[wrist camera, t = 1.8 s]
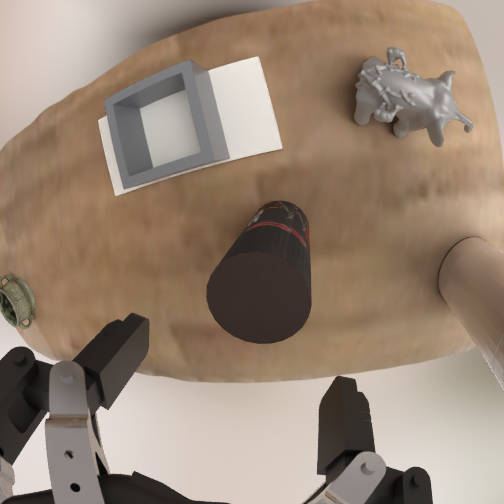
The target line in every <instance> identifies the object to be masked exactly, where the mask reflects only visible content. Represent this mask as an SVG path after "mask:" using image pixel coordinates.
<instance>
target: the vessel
mask: <svg viewBox="0 0 504 504" xmlns="http://www.w3.org/2000/svg"><path fill="white" fill-rule="evenodd" d="M4 278H6V279H7V280H8V282H7V283H6V284H5V285H4V286H3V285H2V282H1V281H2V279H4ZM13 279H14V276H13V275H12V274H11V275H10V276H7V275H4V276H1V277H0V311H1V313H2V314H3V316H4V318H5V319H6V320H7V321H8V322H9V324H11V325H12V326H13V327H17V326H18V325H19V326H20V328H22V329H27V328H29V327H30V326H31V323H32V320H34V318H35V317H34V315H33V314H31V315H30V313H31V311H33V310H34V309H35V300H34V296H33V294H32V292H31V290H30V288H29V287H28V285H27V284H26V283H25V282H24V281H23V280H22V279H17V280H16V282H14V281H12V280H13ZM26 319H28V320H29V324H28V325H27V326H25V325H24V324H23V323H22V321H24V320H26Z"/></svg>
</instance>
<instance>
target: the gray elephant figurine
mask: <svg viewBox="0 0 504 504" xmlns="http://www.w3.org/2000/svg"><path fill="white" fill-rule="evenodd" d="M387 58H388V62H389V63H388V64H387V63H384V62H383V61H381V60H380V59H379V58H378V57H376V56H370V57H369V58H368V60H367V61H365V62H364V63H363V66H362V71H361V72H360V73H359V74H358V78H359V79H360V81H359V82H357V83H356V84H355V86H356V88H357V90H358V91H357V93H356V100H357V105H356V112H355V113H354V119H355V121H356V122H357V123H358V124H360V125H365V124H367V123H368V122H369V120H370V115H371V114H372V113H374V118H375V119H376V120H377V121H379V122H391V121H392V120H393V118H394V116H395V115H396V116H397V117H398V118H399V120H398V121H397V122H396V123H395V124H394V126H393V130H394V133H395V135H396V136H397V137H398V138H404V137H405V136H406V135H407V134H408V133H409V132H411V131H416V130H419V129H424V128H427V131H428V134H429V137H430V139H431V142H432V143H433V144H434V145H435V146H437V147H441V146H442V145H443V141H444V137H443V128H444V127H445V126H446V125H447V124H448V123H449V122H451V121H452V120H459V121H461V122H462V123H464V124H465V126H464V130H465V131H466V132H467V133H469V132H471V131H472V128H473V122H472V121H471V120H470V119H469V118H468V117H467V116H466V115H464V114H462V113H461V112H460V111H459V110H458V109H457V107H456V104H455V100H454V98H453V95H452V75H453V74H455V72H454V71H446V72H444V73H443V74H442V75H441V76H440V77H438V78H436V79H434V78H428V79H423V78H421V77H419V75H418V74H413V73H411V72H410V71H409V70H408V69H407V66H406V56H405V52H404V51H403V50H399V49H397V48H394V47H390V48H388V49H387ZM399 58H400V59H401V60H402V63H403V67H402V69H399V65H397V64H396V65H395V66H394V65H393V62H394V61H395V60H396V59H399ZM389 111H390V112H389Z"/></svg>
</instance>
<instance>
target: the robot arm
mask: <svg viewBox="0 0 504 504" xmlns="http://www.w3.org/2000/svg"><path fill="white" fill-rule="evenodd" d="M439 290H440V293H441V295H442V297H443V299H444V300H445V301H446V303H447V304H448V305H449V307H450V308H451V309H452V311H453V312H454V314H455V315H456V316H457V318H458V319H459V321H460V322H461V324H462V325H463V326H464V328H465V329H466V331H467V332H468V334H469V335H470V337H471V338H472V340H473V341H474V343H475V344H476V346H477V347H478V348H479V350H480V352H481V353H482V355H483V357H484V358H485V360H486V361H487V363H488V365H489V366H490V368H491V370H492V371H493V373H494V375H495V376H496V378H497V380H498V382H499V383H500V385H501V387H502V389H503V390H504V253H503V252H502V251H500V250H499V249H497V248H496V247H494V246H493V245H491V244H490V243H488V242H487V241H485V240H483V239H481V238H478V237H470V238H467V239H464V240H462V241H461V242H459V243H458V244H456V245H455V246H454V247H453V248H452V249H451V250H450V252H449V253H448V254H447V256H446V258H445V260H444V262H443V264H442V266H441V269H440V274H439ZM148 348H149V319H147V318H145V317H142V316H140V315H137V314H135V313H131V314H129V315H128V317H127V318H126V319H125V320H124V321H121V320H119V319H118V320H115V321H113V322H111V323H109V324H107V325H106V326H105V327H104V328H103V329H102V330H101V332H100V333H98V334H97V335H96V336H95V339H93V340H92V341H91V342H90V343H89V344H88V345H87V346H86V347H85V348H84V349H83V350H82V351H81V352H80V353H79V354H78V355H77V356H76V357H75V358H74V359H73V360H72V361H60V362H58V363H56V364H55V365H52V364H48V363H45V362H42V361H39V360H36V359H35V356H34V353H33V352H32V351H31V350H30V349H29V348H26V347H15V348H13V349H11V350H10V351H9V352H8V353H7V354H6V355H5V356H4V357H3V358H2V359H1V360H0V504H229V503H223V502H222V503H221V502H204V501H194V500H190V499H188V498H186V497H184V496H183V495H181V494H179V493H178V492H176V491H175V490H173V489H171V488H170V487H168V486H167V485H165V484H163V483H161V482H159V481H156V480H154V479H151V478H149V477H147V476H144V475H142V474H140V473H138V472H135V471H134V472H133V474H132V476H130V475H124V474H110V471H109V467H108V464H107V461H106V458H105V455H104V451H103V447H102V442H101V438H100V432H99V426H98V421H97V414H96V411H97V410H98V408H99V407H100V406H102V407H104V408H105V409H107V410H109V408H110V407H111V406H112V404H113V403H114V401H115V400H116V398H117V397H118V395H119V394H120V392H121V391H122V389H123V388H124V386H125V385H126V384H127V382H128V381H129V379H130V378H131V377H132V375H133V374H134V372H135V371H136V369H137V368H138V367H139V365H140V364H141V362H142V361H143V360H144V358H145V356H146V354H147V352H148ZM47 412H50V416H49V419H46V421H45V436H46V449H47V458H48V466H49V474H50V480H51V486H52V489H49V490H44V491H39V492H34V493H28V494H24V495H23V494H22V495H16V496H13V493H12V485H14V483H15V479H14V470H13V468H12V465H13V463H14V462H15V460H16V458H17V457H18V455H19V454H20V452H21V451H22V449H23V447H24V446H25V444H26V443H27V441H28V440H29V438H30V437H31V435H32V434H33V432H34V431H35V429H36V428H37V426H38V425H39V424H40V422H41V421H42V419H43V418H44V416H45V415H46V414H47ZM318 434H319V435H318V461H317V474H319V475H326V481H325V482H324V483H323V484H322V485H321V486H320V487H319V488H318V489H317V490H316V491H315V492H314V493H313V494H311V495H310V496H309V497H308V498H307V499H306V500H305V501H304V502H303V503H302V504H433V501H432V490H431V482H430V477H429V475H428V473H427V472H426V471H425V470H424V469H422V468H420V467H411V468H409V469H408V470H406V471H405V472H403V471H399V470H396V469H392V468H390V467H387V466H386V465H385V462H384V460H383V459H382V458H381V457H380V456H379V455H378V454H376V453H375V445H374V437H373V429H372V423H371V416H370V409H369V403H368V400H367V399H366V397H365V396H364V394H363V393H362V392H357V385H356V380H355V379H352V378H347V377H342V376H337V377H336V378H335V380H334V381H333V382H332V384H331V386H330V387H329V389H328V390H327V392H326V393H325V395H324V396H323V398H322V400H321V403H320V407H319V433H318Z"/></svg>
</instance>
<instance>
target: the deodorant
mask: <svg viewBox="0 0 504 504" xmlns="http://www.w3.org/2000/svg"><path fill="white" fill-rule="evenodd" d="M206 298H207V302H208V306H209V310H210V311H211V313H212V315H213V317H214V319H215V320H216V321H217V323H218V324H219V325H220V326H221V327H222V328H223V329H224V330H226V331H227V332H228V333H230V334H231V335H233V336H234V337H237V338H239V339H241V340H244V341H247V342H252V343H257V344H268V343H275V342H279V341H283V340H285V339H287V338H289V337H291V336H293V335H294V334H295V333H296V332H297V331H299V330H300V329H301V328H302V327H303V325H304V324H305V322H306V320H307V319H308V317H309V313H310V309H311V265H310V241H309V226H308V221H307V218H306V216H305V214H304V213H303V212H302V210H301V209H299V208H298V207H297V206H296V205H294V204H292V203H289V202H285V201H273V202H271V203H268V204H266V205H264V206H263V207H262V208H260V210H259V211H258V212H257V213H256V215H255V216H254V217H253V219H252V220H251V221H250V223H249V224H248V225H247V227H246V228H245V229H244V231H243V232H242V233H241V235H240V236H239V237H238V239H237V240H236V241H235V243H234V244H233V246H232V247H231V248H230V250H229V251H228V252H227V254H226V255H225V256H224V258H223V259H222V260H221V262H220V263H219V265H218V266H217V267H216V269H215V270H214V271H213V273H212V274H211V276H210V279H209V282H208V284H207V296H206Z"/></svg>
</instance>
